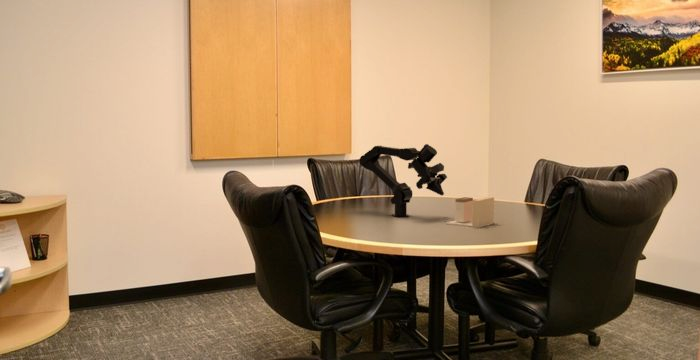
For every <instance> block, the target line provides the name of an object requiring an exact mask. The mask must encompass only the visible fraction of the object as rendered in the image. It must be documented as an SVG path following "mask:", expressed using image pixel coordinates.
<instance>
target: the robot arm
mask: <svg viewBox="0 0 700 360" xmlns="http://www.w3.org/2000/svg"><path fill="white" fill-rule="evenodd" d="M417 149H418V148H416V147H408V148H406V147H405V148H399V147H398V148H397V147H390V146H389V147H388V146H383V145H374V147H372V148H371V149H370V150H367V152H366V153H365V154H362V155H361V156H360V158H359V165H360V166H361V167H362V168H364V169H365V170H368V171H371V172H372V173H373V174H374V175H375V176H376V177H378V179H380V180H381V182H383V184H385V185H386V186H387V187H388V188H389V189H390V190H391V191H392V192H391V193H392V195H393V196H392V197H391V199H390V203H391V205H394V213H392V214H391V216H393V217H396V218H403V217H410V215H409V214H407V211H408V210H407V205H408V203H411V199H412V198H413V190H412V187H411V186H409V185H408V184H407V183H406V182H401V183H400V182H398V181H397V179H395V178H394V177H393V176H392V175H391V174H390V173H389V172H388V171H387V170H386V169H385V168H384V167H382V166H381V165H380V162H379V159H380V157H381V156H390V157H396V158H399V159H400V160H403V161H411V162H408V165H407V169H408V170H410V169H413V170H414V171H415V172H416V173H417V175H416V176H417V177H418V178H419V180H418V181H416V185H415V186H416V187H417V189H419V190H420V189H423V187H424V186H423V185H426V187H425V189H427V190H429V191H432V192H433V193H435V194H437V195H439V196H444V195H445V193H444V190H443V187H442V183H443V182H444V181H446V179H447V178H448V176H447V175H446V174H445V173H440V172H443V171H445V165H443V163H441V162H439V163H436V164H435V165H432V166H428V165H427V163H430V162H431V161H432V160H433V159H434V157H436V156H437V154H438V152H437V151H438V150H437V149H435V148H434V147H433V146H431V145H429V144H428V143H425V144H424V145H423V147H422V148H421V149H420V150H417Z"/></svg>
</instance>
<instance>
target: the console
mask: <svg viewBox="0 0 700 360" xmlns="http://www.w3.org/2000/svg"><path fill="white" fill-rule="evenodd" d="M494 217H495V197H494V196H486V197H481V198H476V199H473V205H472V220H471V221H467V222H455V220H450V221H446V222H445V224H446V225H451V226H459V227H468V228H475V229H477V228H478V229H479V228H483V227H486V226H489V225H493V224H495V222H494V221H495V220H494V219H495V218H494Z"/></svg>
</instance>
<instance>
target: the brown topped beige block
mask: <svg viewBox="0 0 700 360" xmlns="http://www.w3.org/2000/svg"><path fill="white" fill-rule="evenodd" d="M473 198H474V197H469V196H467V197H466V196H463V197H460V198H455V222H467V221H471V220H472V215H473V200H474V199H473Z"/></svg>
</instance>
